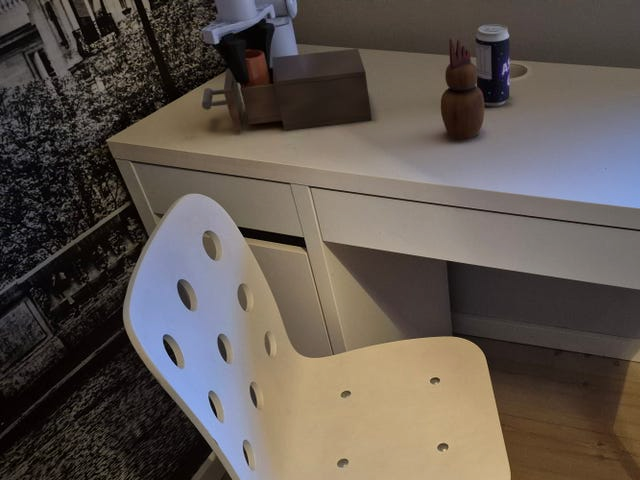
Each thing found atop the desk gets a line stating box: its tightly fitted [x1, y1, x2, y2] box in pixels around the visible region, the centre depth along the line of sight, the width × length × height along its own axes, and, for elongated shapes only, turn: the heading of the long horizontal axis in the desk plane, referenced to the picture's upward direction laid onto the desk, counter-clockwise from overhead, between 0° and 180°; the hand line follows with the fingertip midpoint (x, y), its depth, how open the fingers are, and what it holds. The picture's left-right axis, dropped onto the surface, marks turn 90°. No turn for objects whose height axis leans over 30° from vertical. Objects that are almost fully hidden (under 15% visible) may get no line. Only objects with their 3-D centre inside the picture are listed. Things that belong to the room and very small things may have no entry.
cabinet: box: [272, 48, 373, 131], centre depth 113 cm, size 15×12×8 cm
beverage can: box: [475, 23, 511, 107], centre depth 114 cm, size 6×6×12 cm
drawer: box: [201, 67, 282, 131], centre depth 112 cm, size 18×10×6 cm, turn 104°
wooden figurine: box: [440, 38, 485, 140], centre depth 103 cm, size 7×6×15 cm
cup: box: [238, 49, 271, 87], centre depth 109 cm, size 5×5×5 cm
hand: (253, 77), depth 110 cm, fingers closed on cup, 5 cm apart
